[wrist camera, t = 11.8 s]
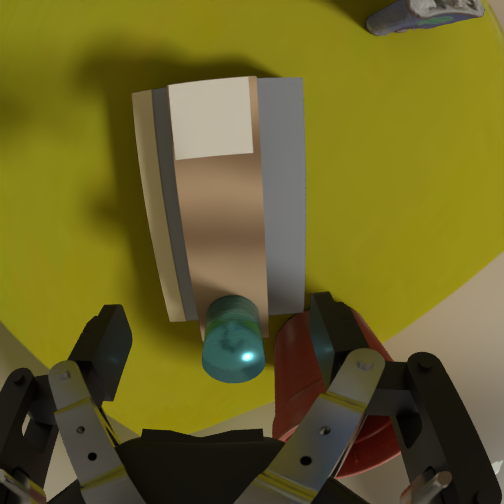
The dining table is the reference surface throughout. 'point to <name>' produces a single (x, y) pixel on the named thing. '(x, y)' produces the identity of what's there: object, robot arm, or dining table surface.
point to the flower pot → (311, 386)
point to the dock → (274, 195)
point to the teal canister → (233, 340)
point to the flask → (421, 15)
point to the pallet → (225, 222)
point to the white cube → (211, 118)
